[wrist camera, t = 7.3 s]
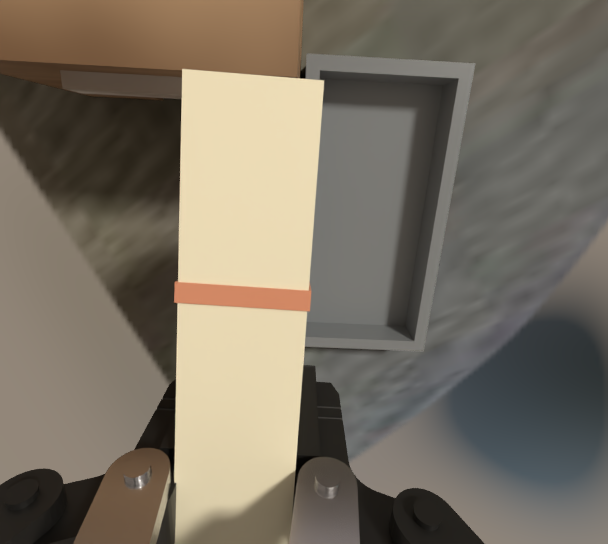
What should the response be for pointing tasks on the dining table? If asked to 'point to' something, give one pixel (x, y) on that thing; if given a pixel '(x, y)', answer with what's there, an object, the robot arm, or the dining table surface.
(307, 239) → the cream rectangular block
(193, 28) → the wooden block
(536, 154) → the dining table surface
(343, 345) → the tray
